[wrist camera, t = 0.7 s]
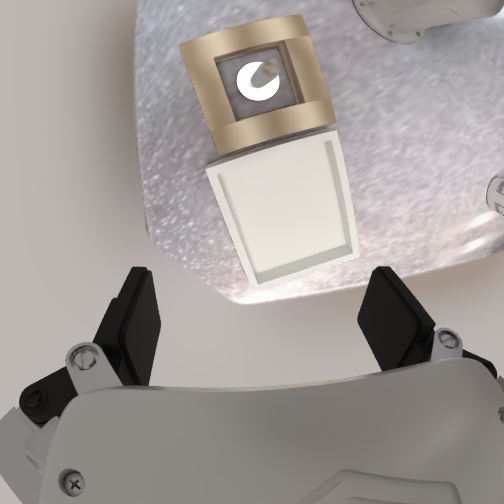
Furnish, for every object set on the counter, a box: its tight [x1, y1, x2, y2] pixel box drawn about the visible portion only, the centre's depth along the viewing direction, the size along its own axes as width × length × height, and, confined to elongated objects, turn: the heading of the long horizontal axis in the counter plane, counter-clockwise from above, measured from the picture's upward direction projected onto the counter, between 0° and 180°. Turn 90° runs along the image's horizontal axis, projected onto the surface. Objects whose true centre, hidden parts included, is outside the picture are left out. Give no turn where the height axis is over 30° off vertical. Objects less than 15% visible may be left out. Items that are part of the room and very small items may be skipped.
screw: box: [237, 59, 280, 100], centre depth 23 cm, size 13×5×5 cm
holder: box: [179, 14, 336, 156], centre depth 27 cm, size 14×14×4 cm
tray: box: [205, 128, 360, 292], centre depth 36 cm, size 16×18×4 cm
